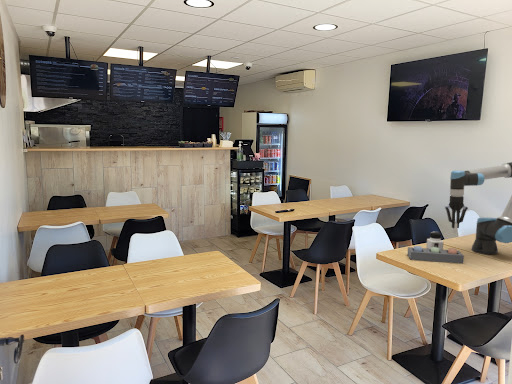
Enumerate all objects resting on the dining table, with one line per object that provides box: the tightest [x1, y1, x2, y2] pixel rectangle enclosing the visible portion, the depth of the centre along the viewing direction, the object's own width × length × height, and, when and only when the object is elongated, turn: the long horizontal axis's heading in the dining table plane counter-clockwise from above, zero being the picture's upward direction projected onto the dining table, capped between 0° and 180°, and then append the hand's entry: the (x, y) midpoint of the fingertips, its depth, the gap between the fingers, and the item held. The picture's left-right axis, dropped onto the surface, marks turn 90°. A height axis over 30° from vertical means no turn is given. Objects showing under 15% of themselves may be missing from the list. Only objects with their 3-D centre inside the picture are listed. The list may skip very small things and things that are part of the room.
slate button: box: [413, 245, 423, 252], centre depth 239 cm, size 5×5×5 cm
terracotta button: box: [447, 247, 458, 254], centre depth 234 cm, size 5×5×5 cm
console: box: [407, 246, 465, 265], centre depth 237 cm, size 30×11×5 cm, turn 77°
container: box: [425, 231, 444, 250], centre depth 253 cm, size 8×8×13 cm
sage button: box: [431, 247, 439, 253], centre depth 236 cm, size 5×5×5 cm
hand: (455, 233), depth 236 cm, fingers closed
